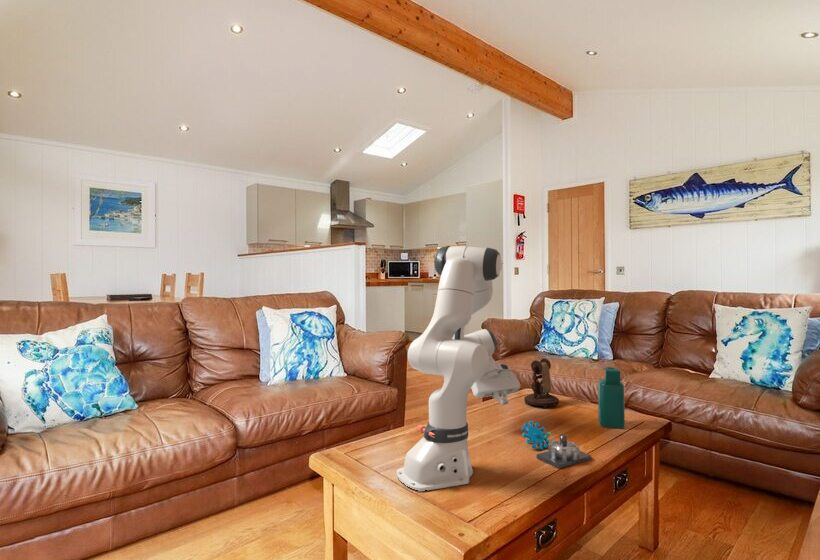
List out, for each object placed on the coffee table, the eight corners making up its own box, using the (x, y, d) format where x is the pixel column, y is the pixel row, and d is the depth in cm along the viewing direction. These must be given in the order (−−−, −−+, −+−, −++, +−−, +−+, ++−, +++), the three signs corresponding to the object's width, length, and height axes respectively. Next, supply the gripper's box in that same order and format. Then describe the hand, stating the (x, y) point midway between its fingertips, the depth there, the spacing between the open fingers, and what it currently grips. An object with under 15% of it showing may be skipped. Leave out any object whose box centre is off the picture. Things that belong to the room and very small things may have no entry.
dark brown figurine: (546, 411, 186) (546, 364, 186) (517, 404, 197) (517, 359, 197) (565, 404, 195) (565, 359, 195) (536, 397, 207) (536, 355, 207)
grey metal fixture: (558, 469, 131) (558, 444, 131) (536, 458, 138) (536, 435, 138) (591, 459, 137) (590, 436, 137) (568, 449, 145) (568, 427, 145)
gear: (529, 448, 142) (519, 419, 149) (520, 456, 146) (511, 428, 153) (557, 448, 146) (546, 420, 153) (548, 456, 150) (538, 428, 157)
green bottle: (597, 420, 173) (597, 364, 173) (621, 422, 171) (620, 365, 171) (601, 429, 164) (600, 369, 164) (626, 430, 162) (625, 370, 161)
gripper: (469, 370, 163) (486, 402, 155) (512, 365, 173) (530, 395, 164) (462, 379, 167) (478, 412, 159) (504, 374, 177) (522, 404, 168)
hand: (505, 403), depth 162 cm, fingers closed
